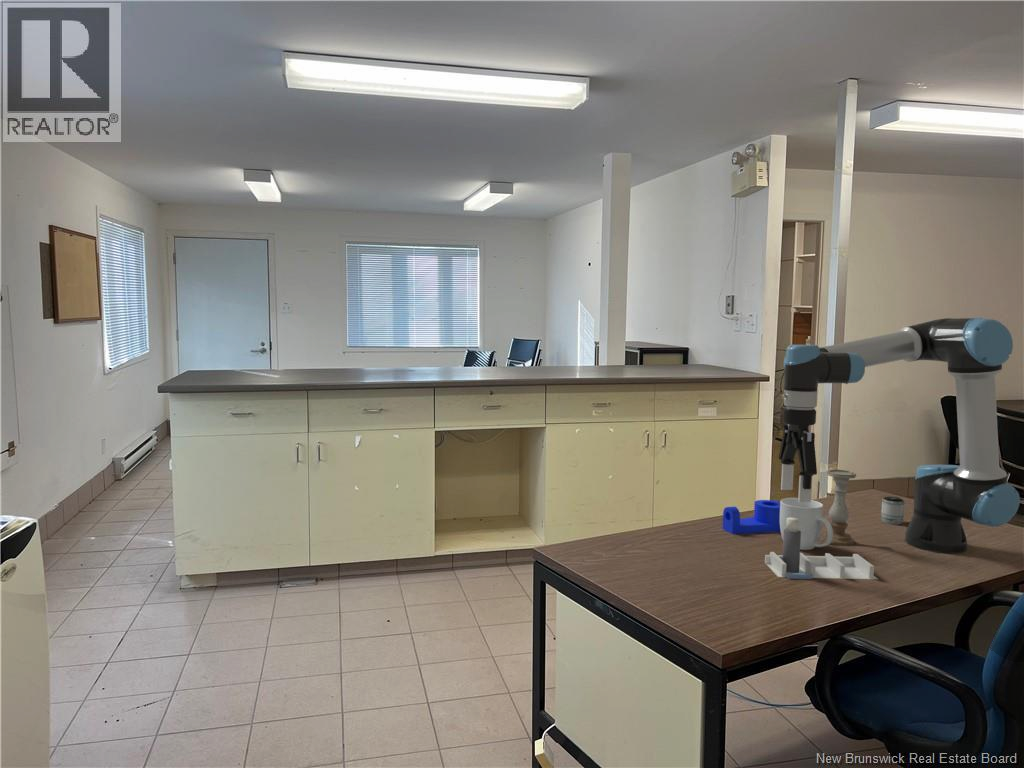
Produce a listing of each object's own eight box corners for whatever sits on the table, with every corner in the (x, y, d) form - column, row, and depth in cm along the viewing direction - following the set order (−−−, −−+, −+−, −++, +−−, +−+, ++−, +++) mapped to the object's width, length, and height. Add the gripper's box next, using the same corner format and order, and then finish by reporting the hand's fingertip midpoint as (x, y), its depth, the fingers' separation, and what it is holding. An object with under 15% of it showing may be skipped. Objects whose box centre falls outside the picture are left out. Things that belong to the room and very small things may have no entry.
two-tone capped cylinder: (795, 567, 175) (797, 516, 174) (801, 572, 171) (804, 521, 170) (779, 567, 175) (781, 516, 174) (785, 572, 171) (787, 521, 170)
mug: (842, 554, 188) (845, 507, 187) (818, 562, 182) (821, 513, 181) (793, 539, 200) (795, 495, 199) (769, 546, 194) (771, 500, 193)
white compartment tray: (859, 568, 178) (859, 553, 177) (879, 584, 167) (880, 568, 167) (764, 566, 178) (765, 551, 178) (779, 582, 168) (780, 566, 167)
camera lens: (876, 519, 222) (877, 495, 221) (894, 519, 223) (896, 495, 222) (889, 525, 216) (890, 500, 215) (907, 524, 217) (909, 500, 216)
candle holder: (856, 548, 194) (860, 476, 192) (822, 544, 197) (826, 474, 195) (852, 538, 202) (856, 470, 200) (819, 535, 205) (823, 468, 203)
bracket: (771, 522, 218) (772, 499, 218) (791, 531, 210) (792, 506, 209) (718, 527, 212) (719, 503, 212) (736, 536, 204) (737, 511, 203)
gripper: (768, 401, 181) (764, 483, 183) (802, 414, 158) (797, 507, 160) (797, 402, 181) (793, 484, 183) (835, 414, 158) (830, 508, 160)
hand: (795, 495), depth 171 cm, fingers open, 11 cm apart
